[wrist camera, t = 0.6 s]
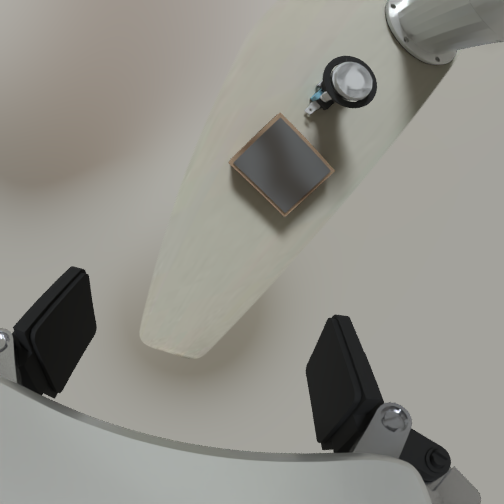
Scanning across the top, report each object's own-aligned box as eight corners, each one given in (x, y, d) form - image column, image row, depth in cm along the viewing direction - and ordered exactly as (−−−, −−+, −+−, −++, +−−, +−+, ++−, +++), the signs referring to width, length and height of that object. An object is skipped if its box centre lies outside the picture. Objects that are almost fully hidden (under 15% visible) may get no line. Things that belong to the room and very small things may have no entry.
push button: (320, 127, 31) (346, 128, 22) (289, 97, 30) (304, 85, 21) (355, 94, 29) (391, 85, 20) (325, 64, 28) (352, 43, 19)
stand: (277, 114, 31) (280, 112, 27) (327, 166, 33) (335, 171, 30) (230, 159, 33) (228, 163, 30) (281, 208, 36) (285, 218, 32)
